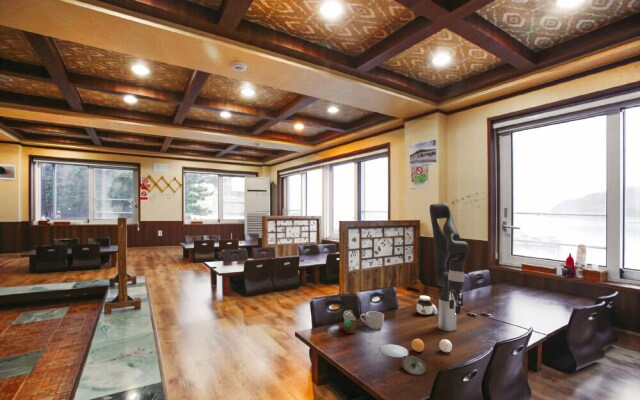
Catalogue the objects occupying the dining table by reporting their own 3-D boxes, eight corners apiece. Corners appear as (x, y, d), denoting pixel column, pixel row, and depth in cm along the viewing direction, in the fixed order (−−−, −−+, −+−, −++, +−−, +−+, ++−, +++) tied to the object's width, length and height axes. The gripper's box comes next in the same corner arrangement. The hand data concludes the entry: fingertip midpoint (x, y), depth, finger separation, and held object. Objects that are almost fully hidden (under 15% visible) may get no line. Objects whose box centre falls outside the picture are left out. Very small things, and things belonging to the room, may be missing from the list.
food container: (341, 326, 187) (341, 309, 187) (351, 326, 187) (351, 309, 188) (344, 334, 175) (345, 316, 175) (355, 334, 175) (355, 316, 175)
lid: (421, 364, 144) (421, 353, 144) (429, 376, 134) (430, 364, 134) (398, 364, 143) (398, 353, 143) (405, 375, 133) (405, 363, 133)
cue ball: (448, 349, 160) (448, 337, 161) (454, 354, 154) (454, 342, 155) (437, 348, 160) (437, 337, 160) (442, 354, 154) (442, 342, 154)
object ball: (421, 348, 160) (421, 336, 160) (425, 354, 154) (426, 341, 154) (409, 348, 160) (410, 336, 160) (413, 353, 154) (414, 341, 154)
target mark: (403, 344, 164) (403, 344, 164) (412, 357, 150) (412, 357, 150) (377, 344, 163) (377, 344, 163) (383, 357, 149) (383, 356, 149)
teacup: (384, 325, 190) (385, 312, 190) (382, 332, 180) (382, 318, 180) (362, 322, 195) (362, 309, 195) (358, 328, 185) (358, 314, 185)
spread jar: (414, 313, 215) (415, 296, 215) (423, 310, 223) (423, 293, 223) (431, 318, 206) (431, 300, 207) (439, 314, 214) (439, 297, 214)
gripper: (469, 283, 156) (467, 316, 155) (458, 277, 170) (456, 307, 169) (453, 281, 156) (452, 314, 155) (444, 276, 170) (442, 306, 170)
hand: (454, 311), depth 162 cm, fingers open, 8 cm apart
